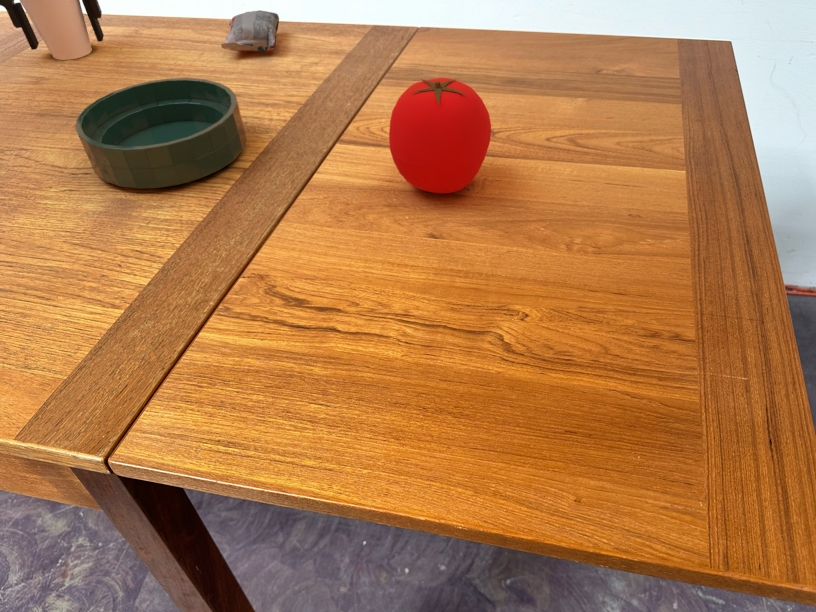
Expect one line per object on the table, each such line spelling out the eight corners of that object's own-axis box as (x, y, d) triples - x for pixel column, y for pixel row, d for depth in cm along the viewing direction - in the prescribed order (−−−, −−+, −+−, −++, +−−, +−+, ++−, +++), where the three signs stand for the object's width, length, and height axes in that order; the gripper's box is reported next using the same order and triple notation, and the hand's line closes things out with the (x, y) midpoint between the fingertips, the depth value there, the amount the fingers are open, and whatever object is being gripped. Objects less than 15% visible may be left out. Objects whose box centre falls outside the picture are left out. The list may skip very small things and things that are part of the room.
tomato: (425, 221, 75) (418, 115, 66) (375, 176, 82) (363, 76, 73) (512, 186, 80) (517, 84, 71) (458, 147, 87) (456, 49, 78)
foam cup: (105, 55, 112) (72, -29, 103) (46, 68, 109) (7, -18, 100) (96, 37, 118) (64, -44, 109) (40, 49, 115) (3, -34, 106)
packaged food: (225, 61, 109) (217, 30, 105) (233, 34, 117) (226, 5, 114) (278, 58, 110) (273, 27, 106) (282, 32, 118) (277, 2, 114)
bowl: (88, 205, 79) (66, 160, 75) (101, 131, 92) (83, 89, 88) (252, 178, 83) (241, 133, 78) (243, 110, 96) (232, 69, 92)
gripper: (-90, -102, 92) (-8, 59, 108) (81, -117, 96) (136, 41, 112) (-76, -113, 97) (1, 43, 113) (86, -126, 101) (138, 26, 117)
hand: (68, 42), depth 112 cm, fingers open, 10 cm apart
